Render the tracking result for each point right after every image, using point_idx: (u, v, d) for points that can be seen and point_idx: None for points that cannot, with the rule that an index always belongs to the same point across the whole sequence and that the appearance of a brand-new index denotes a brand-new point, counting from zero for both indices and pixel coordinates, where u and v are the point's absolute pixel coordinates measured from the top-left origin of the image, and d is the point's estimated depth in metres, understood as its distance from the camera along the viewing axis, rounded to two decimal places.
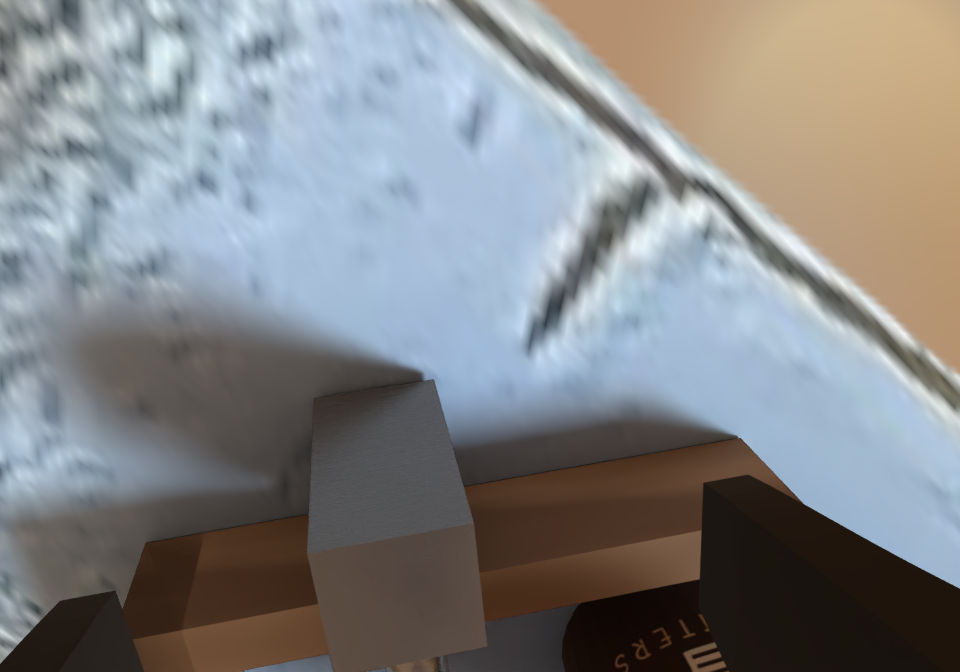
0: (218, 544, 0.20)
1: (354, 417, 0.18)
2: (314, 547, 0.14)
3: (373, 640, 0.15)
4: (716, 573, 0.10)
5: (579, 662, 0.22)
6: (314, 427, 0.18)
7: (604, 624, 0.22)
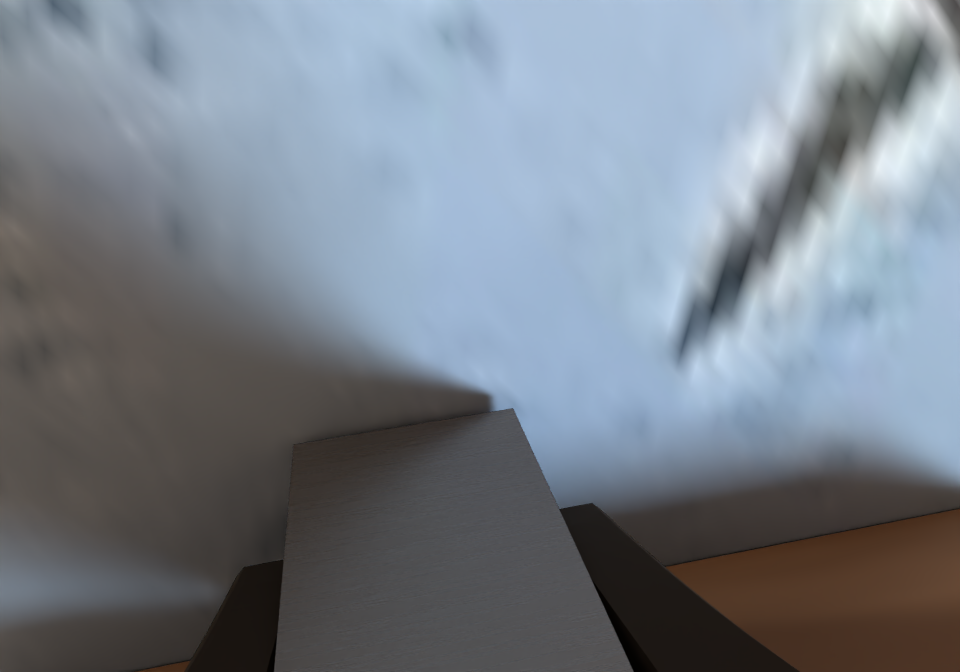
0: None
1: (370, 487, 0.09)
2: None
3: None
4: None
5: None
6: (291, 509, 0.09)
7: None
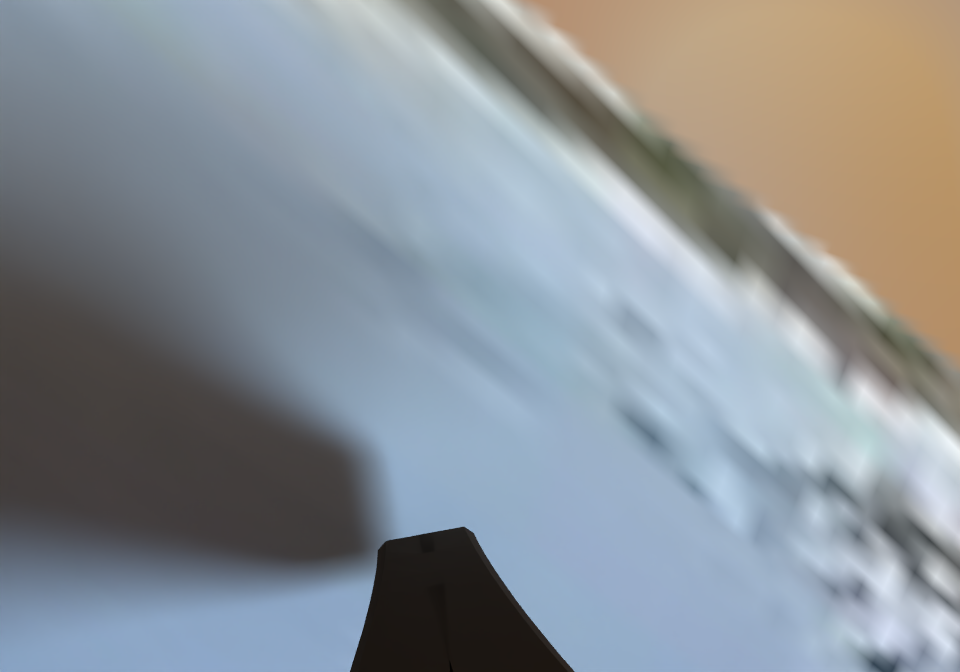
0: None
1: None
2: None
3: None
4: None
5: None
6: None
7: None
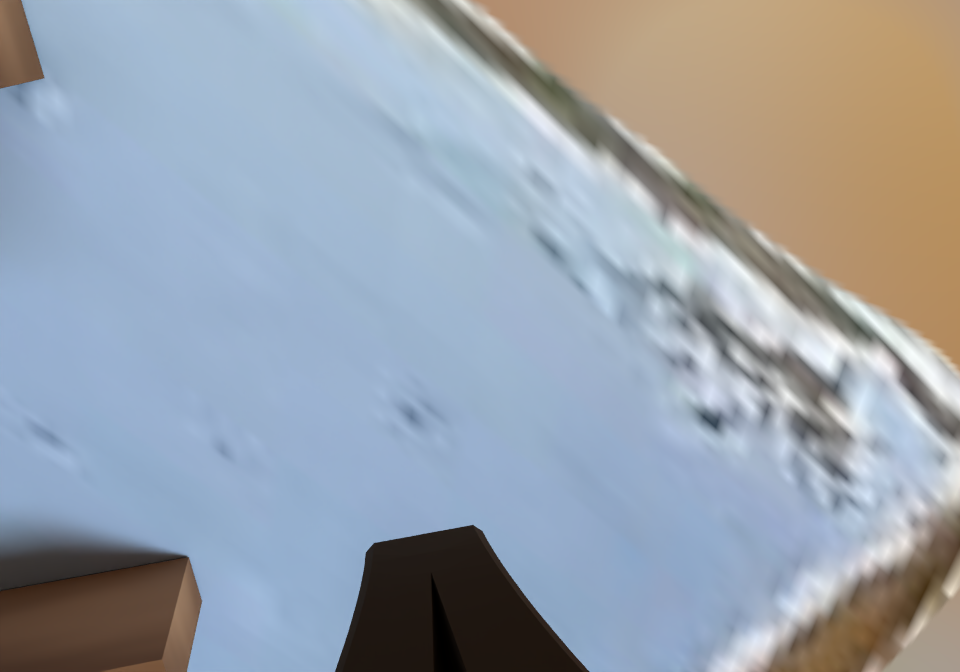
0: None
1: None
2: None
3: None
4: None
5: None
6: None
7: None
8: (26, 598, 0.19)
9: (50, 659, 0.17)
